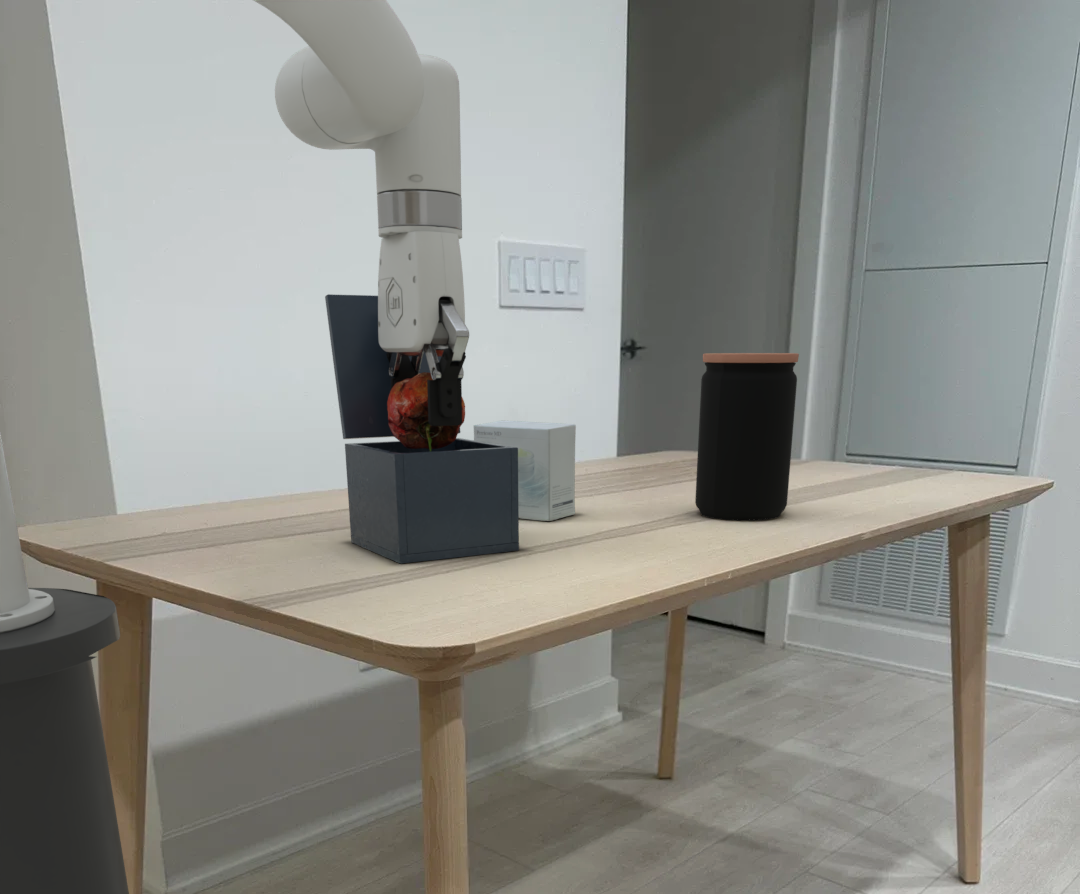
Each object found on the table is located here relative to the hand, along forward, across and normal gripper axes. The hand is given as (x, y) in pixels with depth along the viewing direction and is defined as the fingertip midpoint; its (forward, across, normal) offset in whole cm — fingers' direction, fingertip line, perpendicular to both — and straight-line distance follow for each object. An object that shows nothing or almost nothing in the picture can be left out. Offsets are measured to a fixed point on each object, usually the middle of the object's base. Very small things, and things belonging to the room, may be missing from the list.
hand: (426, 421), depth 97 cm
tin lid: (-5, -7, 0) cm, 9 cm away
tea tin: (+12, 0, 0) cm, 12 cm away
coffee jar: (+12, 0, +40) cm, 42 cm away
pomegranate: (+3, 0, 0) cm, 3 cm away
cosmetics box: (+12, -13, +18) cm, 26 cm away
